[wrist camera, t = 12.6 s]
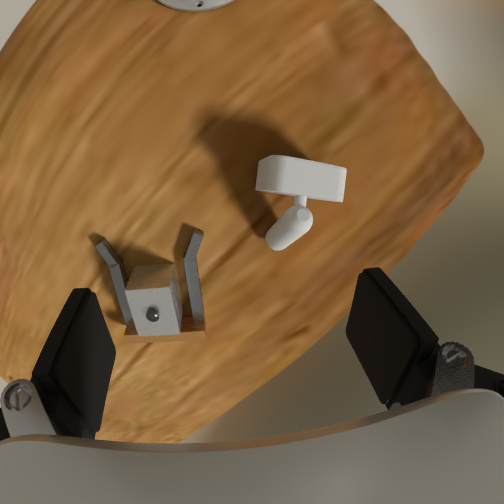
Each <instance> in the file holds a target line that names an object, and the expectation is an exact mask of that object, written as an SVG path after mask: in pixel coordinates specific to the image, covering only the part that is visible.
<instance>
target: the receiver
mask: <svg viewBox="0 0 504 504" xmlns="http://www.w3.org/2000/svg"><path fill="white" fill-rule="evenodd" d="M203 234H204V231H201V230H198V229H195V228H194V231H193V234H192V236H191V239H190V242H189V245H188V248H187V250H186V253H184V258H183V259H184V266H185V272H186V279H187V285H188V291H189V297H190V303H191V308H192V314H193V316H187V317H182V321H181V332H180V334H176V335H160V336H140V337H139V335H138V332H137V329H136V326H135V323H134V320H133V317H132V314H131V311H130V307H129V304H128V301H127V297H126V294H125V288H126V286H127V283H128V282H127V279H126V275H125V271H124V267H123V262H122V259H120V258H119V256H118V255H117V254H116V252H115V251H114V249H113V248H112V247H111V245H110V244H109V242H108V241H107V240H106V238H104V239H102V240H101V241H99V242H98V243H97V245H96V246H95V248H96V249H97V250H98V252H99V253H100V254H101V256H102V257H103V259H104V260H105V261H106V263H107V264H108V266H109V269H110V273H111V277H112V280H113V284H114V287H115V291H116V294H117V298H118V301H119V304H120V307H121V311H122V314H123V317H124V320H125V323H126V326H127V327H126V330H125V333H124V337H125V340H126V342H127V343H149V342H169V341H185V340H199V339H206V321H205V314H204V308H203V301H202V294H201V287H200V280H199V273H198V265H197V257H196V254H197V252H198V249H199V246H200V244H201V241H202V238H203Z"/></svg>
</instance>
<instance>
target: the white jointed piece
mask: <svg viewBox="0 0 504 504" xmlns="http://www.w3.org/2000/svg"><path fill="white" fill-rule="evenodd" d="M346 171H347V170H346V169H345V168H343V167H340V166H335V165H331V164H326V163H321V162H316V161H311V160H306V159H301V158H295V157H290V156H283V155H270V156H268V157H266V158H264V159H262V160H260V161H259V164H258V171H257V179H256V187H255V190H257V191H263V192H270V193H278V194H285V195H291V196H295V199H294V206H292V207H290V208H289V209H288V210H287V211H286V212H285V213H284V214H283V215H282V216H281V217H280V218H279V219H278V220H277V221H276V222H275V224H274V225H273V226H272V227H271V228H270V229H269V230H268V231H267V233H266V242H267V244H268V246H269V247H270V248H272V249H274V250H283V249H284V248H286V247H287V246H288V245H290V244H291V243H293V242H294V241H295V240H297V239H298V238H299V237H301V236H302V235H303V234H305V233H306V232H307V231H308V230H309V229H310V228H311V226H312V222H313V217H312V214H311V212H310V211H309V209H307V208H306V200H307V198H311V199H318V200H327V201H336V202H343V195H344V188H345V179H346Z"/></svg>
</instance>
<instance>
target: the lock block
mask: <svg viewBox="0 0 504 504" xmlns="http://www.w3.org/2000/svg"><path fill="white" fill-rule="evenodd" d="M125 294H126V297H127V301H128V304H129V307H130V311H131V314H132V317H133V320H134V323H135V326H136V329H137V332H138V335H139V337H140V336H160V335H176V334H180V332H181V321H182V310H183V305H182V300H181V295H180V290H179V284H178V279H177V273H176V268H175V263H167V264H156V265H146V266H135V267H134V269H133V272H132V274H131V276H130V279H129V281H128V283H127V286H126V288H125Z"/></svg>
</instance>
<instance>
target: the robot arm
mask: <svg viewBox="0 0 504 504" xmlns="http://www.w3.org/2000/svg"><path fill="white" fill-rule="evenodd" d="M157 1H158V2H160V3H161V4H163V5H164V6H167V7H169V8H171V9H175V10H179V11H186V12H203V11H209V10H214V9H217V8H220V7H223V6H225V5H227V4H229V3H232V2H233V1H235V0H157ZM198 5H202V6H201V7H198ZM346 335H347V338H348V340H349V342H350V344H351V345H352V347H353V349H354V351H355V353H356V355H357V357H358V359H359V361H360V363H361V365H362V367H363V369H364V370H365V372H366V374H367V376H368V378H369V380H370V382H371V384H372V386H373V388H374V390H375V392H376V394H377V396H378V398H379V400H380V402H381V403H382V404H385V405H386V407H387V409H388V411H385V412H381V413H378V414H375V415H371V416H368V417H364V418H361V419H357V420H353V421H349V422H345V423H341V424H337V425H333V426H328V427H324V428H318V429H314V430H308V431H304V432H298V433H292V434H286V435H280V436H272V437H265V438H257V439H249V440H238V441H227V442H211V443H188V444H187V443H185V444H159V443H133V442H118V441H105V440H95V433H96V432H98V431H99V430H100V427H101V421H102V416H103V411H104V406H105V401H106V396H107V391H108V386H109V382H110V378H111V373H112V369H113V365H114V361H115V356H116V350H115V346H114V343H113V341H112V338H111V336H110V333H109V330H108V328H107V325H106V322H105V320H104V317H103V314H102V311H101V308H100V305H99V302H98V299H97V296H96V294H95V293H94V292H91V290H90V289H89V288H75V289H73V291H72V292H71V294H70V296H69V298H68V299H67V301H66V303H65V305H64V307H63V309H62V311H61V313H60V314H59V316H58V318H57V320H56V322H55V324H54V326H53V328H52V330H51V332H50V334H49V336H48V338H47V340H46V343H45V345H44V347H43V349H42V351H41V353H40V356H39V358H38V360H37V362H36V365H35V367H34V369H33V371H32V378H31V380H30V381H29V380H27V379H17V380H14V381H12V382H11V383H9V384H8V385H7V386H6V387H5V388H4V390H3V392H2V394H1V398H0V403H1V408H0V504H504V375H503V374H500V373H497V372H494V371H492V370H489V369H486V368H483V367H480V366H477V365H475V361H474V357H473V355H472V353H471V351H470V350H469V349H468V348H467V347H466V346H464V345H462V344H460V343H458V342H453V341H451V342H445V343H443V344H442V345H441V346H440V345H439V344H438V343H437V342H438V340H439V338H438V337H437V336H436V334H435V333H434V332H433V330H432V329H431V328H430V327H429V325H428V324H427V323H426V322H425V320H424V319H423V318H422V317H421V316H420V314H419V313H418V312H417V311H416V309H415V308H414V307H413V306H412V304H411V303H410V302H409V301H408V300H407V299H406V297H405V296H404V295H403V294H402V293H401V292H400V290H399V289H398V288H397V287H396V286H395V284H394V283H393V282H392V281H391V280H390V279H389V278H388V276H387V275H386V274H385V273H384V272H383V271H382V270H381V269H380V268H378V267H377V268H367V269H364V270H363V272H362V273H360V274H359V276H358V280H357V285H356V289H355V294H354V298H353V302H352V307H351V311H350V315H349V319H348V323H347V327H346ZM86 438H87V439H86Z"/></svg>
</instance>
